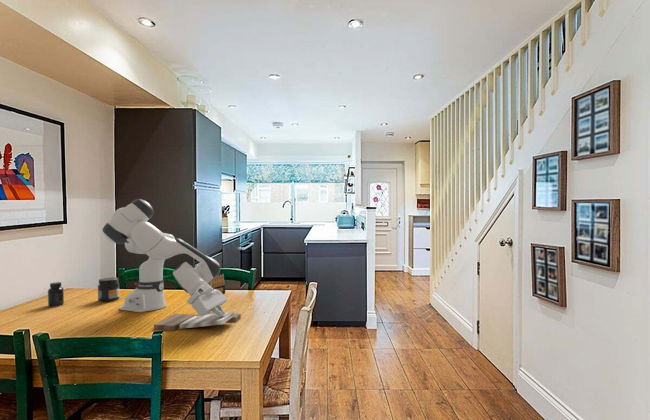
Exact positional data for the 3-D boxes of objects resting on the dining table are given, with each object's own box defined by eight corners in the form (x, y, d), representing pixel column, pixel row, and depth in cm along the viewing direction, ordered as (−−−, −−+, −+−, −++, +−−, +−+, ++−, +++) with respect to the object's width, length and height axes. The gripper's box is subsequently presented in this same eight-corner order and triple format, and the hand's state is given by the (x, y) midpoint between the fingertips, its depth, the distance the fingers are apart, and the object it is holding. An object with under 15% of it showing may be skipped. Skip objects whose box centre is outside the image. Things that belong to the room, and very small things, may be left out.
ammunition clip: (211, 297, 212) (211, 276, 212) (209, 296, 213) (209, 276, 213) (225, 293, 221) (225, 273, 221) (223, 292, 222) (222, 273, 222)
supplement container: (123, 299, 207) (123, 278, 207) (103, 303, 199) (103, 281, 198) (113, 296, 213) (113, 276, 213) (94, 301, 204) (93, 279, 204)
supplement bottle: (45, 306, 194) (44, 283, 193) (58, 303, 200) (58, 281, 200) (53, 307, 191) (53, 284, 191) (66, 304, 197) (66, 282, 197)
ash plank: (179, 328, 158) (179, 324, 158) (194, 320, 170) (193, 316, 170) (222, 324, 154) (222, 320, 154) (234, 315, 166) (233, 311, 166)
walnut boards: (153, 329, 158) (153, 324, 158) (181, 314, 178) (181, 310, 178) (220, 333, 152) (220, 328, 152) (240, 317, 173) (240, 313, 173)
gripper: (209, 292, 172) (228, 313, 171) (184, 303, 152) (206, 327, 150) (217, 282, 172) (237, 304, 170) (194, 292, 151) (216, 317, 150)
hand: (222, 315), depth 160 cm, fingers closed, pressing on ash plank
